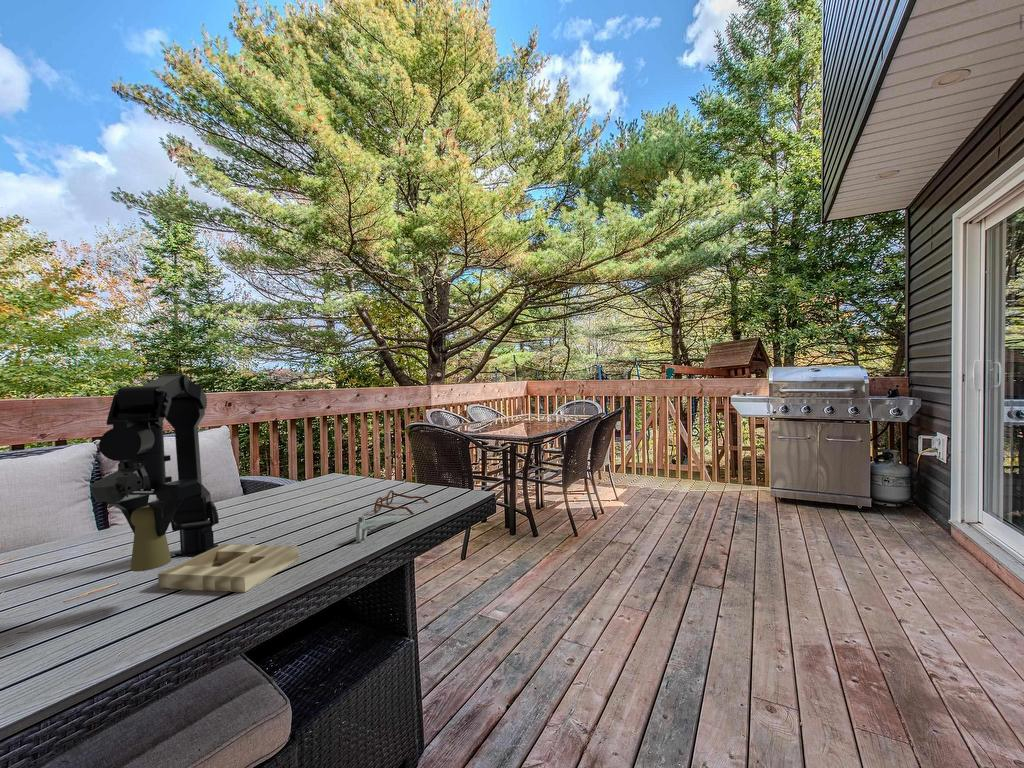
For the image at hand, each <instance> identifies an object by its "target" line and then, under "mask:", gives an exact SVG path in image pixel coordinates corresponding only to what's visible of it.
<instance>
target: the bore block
mask: <svg viewBox="0 0 1024 768" xmlns="http://www.w3.org/2000/svg"><path fill="white" fill-rule="evenodd" d="M298 549H299V546H296V545H295V546H292V545H291V546H290V545H258V544H256V545H253V544H252V545H251V544H220V545H218V546H217V547H215V548H213V549H211V550H209V551H206V552H204V553H202V554H200V555H198V556H193V557H191V558H189V559H187V560H185V561H183V562H179V563H178V564H175V565H174V566H171V567H169V568H167V569H165V570H163V571H161V572H159V573H157V580H158V582H157V583H158V589H163V588H170V589H169V590H185V591H187V590H188V591H206V590H207V591H208V590H209V591H210V592H227V591H231V593H232V592H233V593H247V592H248V591H250V590H251V589H253V588H255V587H256V586H258V585H260V584H261V583H263V582H264V581H266V580H268V579H269V578H271V577H273V576H274V575H276V574H277V573H279V572H280V571H282V570H284V569H285V568H287V567H288V565H289V566H290V565H292V564H294V563H295V562H296V560H297V561H298V560H299V551H298ZM291 563H292V564H291ZM211 590H212V591H211Z"/></svg>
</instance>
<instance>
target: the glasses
mask: <svg viewBox="0 0 1024 768" xmlns="http://www.w3.org/2000/svg"><path fill="white" fill-rule="evenodd" d="M390 495H391V499H390V501H389V497H390ZM394 496H395V497H396V496H397V497H402V498H407V499H410V500H411V499H420V500H421V501H423V502H425V503H426V504H427V503H430V502H429V500H427V499H425V498H424V497H422V496H419V495H417V496H416V495H415V496H410V495H406V494H401V493H396V492H395V491H394V490H393V489H392V490H389V491H388V493H387V495H386V496H383V497H380V496H379V497H378V498H377V499H376V500H375V502H374V509H373V511H374V513H376V514H377V513H379V512H380V511H381V509H382V508H387V509H391V510H401V509H402V510H405V511H407V512H408V513H409V514H410V515H415V513H414V512H413V511H412V510H411V509H410V508H409V507H408V506H396V507H395V506H390V505H391V504H392V503H393V501H394ZM385 500H386V502H385V503H386V504H383V501H385ZM379 501H380V503H378V502H379ZM377 507H378V509H377ZM378 511H379V512H378Z"/></svg>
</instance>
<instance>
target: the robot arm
mask: <svg viewBox="0 0 1024 768" xmlns="http://www.w3.org/2000/svg"><path fill="white" fill-rule="evenodd" d="M207 399H208V398H207V396H206V393H205V391H204V388H203V387H202V386H200V385H199V384H197V383H195V382H194V381H192V380H190V378H189V376H188V375H187V374H184V373H166V374H165V373H164V374H161V375H158V377H157V378H156V379H154V380H151V381H150V382H148V383H146V384H144V385H138V386H137V385H136V386H135V385H134V386H121V387H119V389H118V390H117V391H116V393H114V394H113V398H112V402H111V404H110V407H109V412H108V416H107V418H106V425H107V426H112V428H110V429H109V430H108V429H107V431H106V432H105V433H104V434H102V436H101V438H100V440H99V442H98V449H99V451H100V453H101V454H102V455H103V456H104V457H105V458H107V459H108V460H111V461H113V462H114V461H115V462H119V463H118V464H117V470H116V471H114V472H112V473H110V474H107V475H106V476H104V477H102V478H101V479H99V480H97V481H96V482H95V481H94V483H92V484H90V485H89V490H90V492H91V493H90V495H91V501H92V502H93V501H94V502H96V503H103V502H104V503H106V504H107V505H108V506H113V507H114V508H117V509H119V510H120V511H121V513H122V515H123V516H124V518H125V519H126V521H127V523H128V525H129V527H130V528H131V531H132V533H133V534H134V532H135V526H134V525H133V524H132V522H131V514H132V513H133V511H134V510H136V509H138V508H141V507H144V506H149V507H151V508H152V509H153V510H154V516H155V524H156V531H157V535H158V536H163V535H164V534H166V533H167V530H169V526H171V529H172V532H176V531H177V532H178V531H179V544H180V550H179V551H177V552H175V553H174V555H175V556H187V557H188V556H189V557H190V556H191V557H192V556H193V557H195V556H198V555H200V554H202V553H204V552H206V551H209V550H211V549H213V548H215V547H217V546H219V544H218V543H217V544H216V543H215V539H214V530H213V527H214V526H215V525H218V524H220V521H219V520H220V519H219V513H218V509H217V506H215V502H214V501H213V500H212V497H211V492H210V491H209V490H208V489H207V488H206V487H205V486H204V484H203V481H202V467H201V453H200V440H199V438H200V437H199V424H200V423H201V421H202V420H203V418H204V417H205V414H206V411H205V410H206V409H207V406H208V405H207V404H208V400H207ZM164 420H165V421H167V422H168V424H170V426H171V427H172V428H173V430H174V439H175V450H176V451H175V452H176V465H177V477H178V480H175V481H173V478H172V477H173V476H167V474H166V462H169V461H171V460H172V459H171V455H169V454H165V442H164V441H165V439H164V427H163V426H164ZM150 496H155V500H153V501H149V500H150Z"/></svg>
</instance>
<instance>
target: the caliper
mask: <svg viewBox="0 0 1024 768" xmlns="http://www.w3.org/2000/svg"><path fill="white" fill-rule="evenodd" d="M399 519H400V520H401V519H403V516H401V515H396V514H395V515H393V516H387V517H383V518H378V519H377V518H371V519H366V516H361V517H359V516H358V521H357V522H356V526H355V539H356V540H355V541H356V543H362V541H363V540H364V541H366V540H367V535H368V531H372V530H376V527H377V526H381V525H386V524H389V523H394V522H395V523H396V522H398V521H400V520H399ZM365 539H366V540H365Z"/></svg>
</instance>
